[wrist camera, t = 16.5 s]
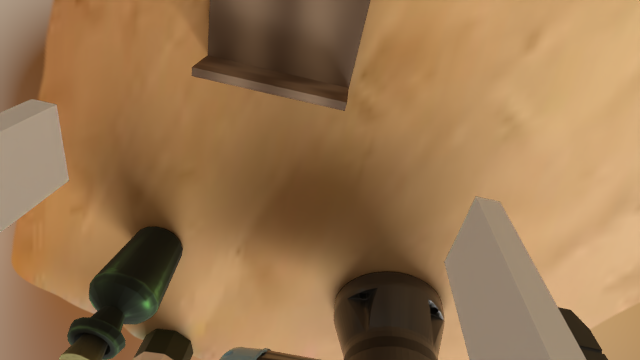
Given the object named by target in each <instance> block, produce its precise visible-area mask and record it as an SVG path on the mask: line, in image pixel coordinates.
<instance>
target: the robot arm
mask: <svg viewBox="0 0 640 360" xmlns="http://www.w3.org/2000/svg"><path fill="white" fill-rule="evenodd" d="M68 181H69V177H68V171H67V165H66V159H65V153H64V147H63V141H62V135H61V129H60V123H59V117H58V110H57V104H52V103H48V102H43V101H39V100H34V99H31V100H29V101H26V102H24V103H22V104H19V105H17V106H15V107H12V108H10V109H8V110H5V111H3V112H1V113H0V232H2V231H3V230H5V229H6V228H7V227H8V226H10V225H11V224H12V223H14V222H15V221H16V220H18V219H19V218H20V217H22V216H23V215H24V214H26V213H27V212H28V211H30V210H31V209H32V208H33V207H35V206H36V205H37V204H39V203H40V202H41V201H43V200H44V199H45V198H47V197H48V196H49V195H51V194H52V193H53V192H55V191H56V190H57V189H58V188H60V187H61V186H62V185H64V184H65V183H66V182H68ZM444 263H445V266H446V270H447V274H448V278H449V282H450V286H451V290H452V294H453V297H454V301H455V305H456V309H457V313H458V317H459V321H460V325H461V328H462V332H463V336H464V340H465V344H466V348H467V352H468V356H469V359H470V360H608V359H607V358H606V356H605V355H604V354H602V349H601V347H600V346H599V344H598V343H597V341H596V339H595V337H594V336H593V334H592V333H591V331H590V329H589V328H588V327H587V326H586V325H585V324H584V323H583V322H582V321H581V320H580V319H579V318H578V317H577V316H576V315H575V314H574V313H573V312H572V311H571V310H568V309H563V308H559V307H557V305H556V303H555V301H554V299H553V298H552V296H551V294H550V292H549V290H548V288H547V287H546V285H545V283H544V281H543V279H542V277H541V276H540V274H539V272H538V270H537V268H536V267H535V265H534V263H533V261H532V259H531V257H530V256H529V254H528V252H527V250H526V248H525V246H524V245H523V243H522V241H521V239H520V237H519V235H518V234H517V232H516V230H515V228H514V226H513V224H512V223H511V221H510V219H509V217H508V215H507V214H506V212H505V210H504V208H503V206H502V204H501V203H500V202H499V201H495V200H490V199H486V198H481V197H477V196H476V197H475V199H474V201H473V203H472V205H471V207H470V210H469V212H468V214H467V216H466V218H465V220H464V222H463V224H462V226H461V228H460V230H459V233H458V235H457V237H456V239H455V241H454V243H453V245H452V247H451V249H450V251H449V253H448V256H447V258H446V260H445V262H444ZM334 324H335V328H336V332H337V335H338V339H339V342H340V345H341V349H342V352H343V356H344V360H438V354H439V349H440V344H441V339H442V334H443V329H444V313H443V308H442V303H441V300H440V298H439V296H438V294H437V293H436V292H435V290H434V289H433V288H432V287H430V286H429V285H428V284H427V283H425V282H423V281H422V280H420V279H418V278H415V277H413V276H410V275H406V274H402V273H395V272H378V273H371V274H367V275H364V276H361V277H358V278H356V279H354V280H352V281H351V282H349V283H348V284H346V285H345V286H344V287H343V288H342V289H341V291H340V292H339V293H338V295H337V297H336V300H335V307H334ZM220 360H320V359H314V358H308V357H302V356H297V355H291V354H285V353H280V352H274V351H271V350H270V349H267V348H265V349H253V348H244V347H236V348H233V349H231V350H229V351H228V352H226V353H225V354H224V355H223V356H222V357H221V359H220Z"/></svg>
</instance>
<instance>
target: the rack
mask: <svg viewBox="0 0 640 360" xmlns="http://www.w3.org/2000/svg"><path fill="white" fill-rule="evenodd" d="M369 3H370V0H210V10H209V36H208V56H206V57H205V58H204V59H202V60H201V61H200V62H198V63H197V64H196V65H194V66H193V67H192V76H194V77H198V78H203V79H207V80H212V81H216V82H220V83H225V84H229V85H234V86H238V87H242V88H247V89H251V90H255V91H260V92H264V93H269V94H273V95H277V96H282V97H286V98H290V99H295V100H299V101H304V102H308V103H312V104H317V105H321V106H325V107H330V108H334V109H339V110H343V111H345V108H346V104H347V97H348V90H349V85H350V81H351V77H352V72H353V68H354V64H355V60H356V56H357V52H358V48H359V44H360V40H361V36H362V32H363V28H364V24H365V20H366V16H367V12H368V8H369Z"/></svg>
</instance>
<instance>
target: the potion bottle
mask: <svg viewBox="0 0 640 360" xmlns="http://www.w3.org/2000/svg"><path fill="white" fill-rule="evenodd" d="M182 250H183V249H182V246H181V243H180V241H179V240H178V238H177V237H176V236H175V235H174V234H173V233H171V232H169V231H168V230H166V229H163V228H159V227H146V228H144V229H141V230H140V231H139V232H138V233H137V234H136V235H135V236H134V237H133V238H132V239H131V240H130V241H129V242H128V243H127V244H126V245H125V246H124V247H123V248H122V249H121V250H120V251H119V252H118V253H117V254H116V256H115V257H114V258H113V259H112V260H111V261H110V262H109V263H108V264H107V265H106V266H105V267H104V268H103V269H102V270H101V271H100V272H99V273H98V274H97V275H96V276H95V277H94V279H93V280H92V282H91V283H90V288H89V299H90V301H91V303H92V305H93V306H94V308H95V309H96V310H97V312H96V313H95V314H94V315H93V316H92V317H90V318H84V317H83V318H79V319H76V320H74V321H73V323H72V324H71V326H70V329H69V332H68V341H69V343H70V344H71V347H69V348H68V350H66V351H65V352H64V353H63V354H62V355H61V356H60V358H59V360H107V359H111V358H113V357H114V356H115V355H117V354H118V353H119V352H120V351H121V350H122V349H123V348H124V347H125V339H124V337H123V335H122V333H121V329H122V326H123V324H138V323H141V322H144V321H146V320H148V319H149V318H151V317H152V316H153V315H154V314H155V313H156V312H157V310H158V308H159V306H160V303H161V301H162V299H163V297H164V294H165V292H166V290H167V288H168V285H169V283H170V281H171V278H172V276H173V274H174V272H175V269H176V267H177V265H178V263H179V260H180V258H181V256H182Z"/></svg>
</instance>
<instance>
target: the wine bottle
mask: <svg viewBox="0 0 640 360" xmlns="http://www.w3.org/2000/svg"><path fill="white" fill-rule="evenodd" d="M192 354H193V350H192V345H191V341H189V340H188V339H187V338H185V337H184V336H182V335H181V334H179V333H178V332H176V331H171V330H163V329H156V330H154V331H153V332H151V333H149V334H148V335H146V337H145V339H144V340H143V342H142V344H141V346H140V348H139V349H138V351H137V353H136V355H135V357H134V358H133V360H190V359H191V357H192Z"/></svg>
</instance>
